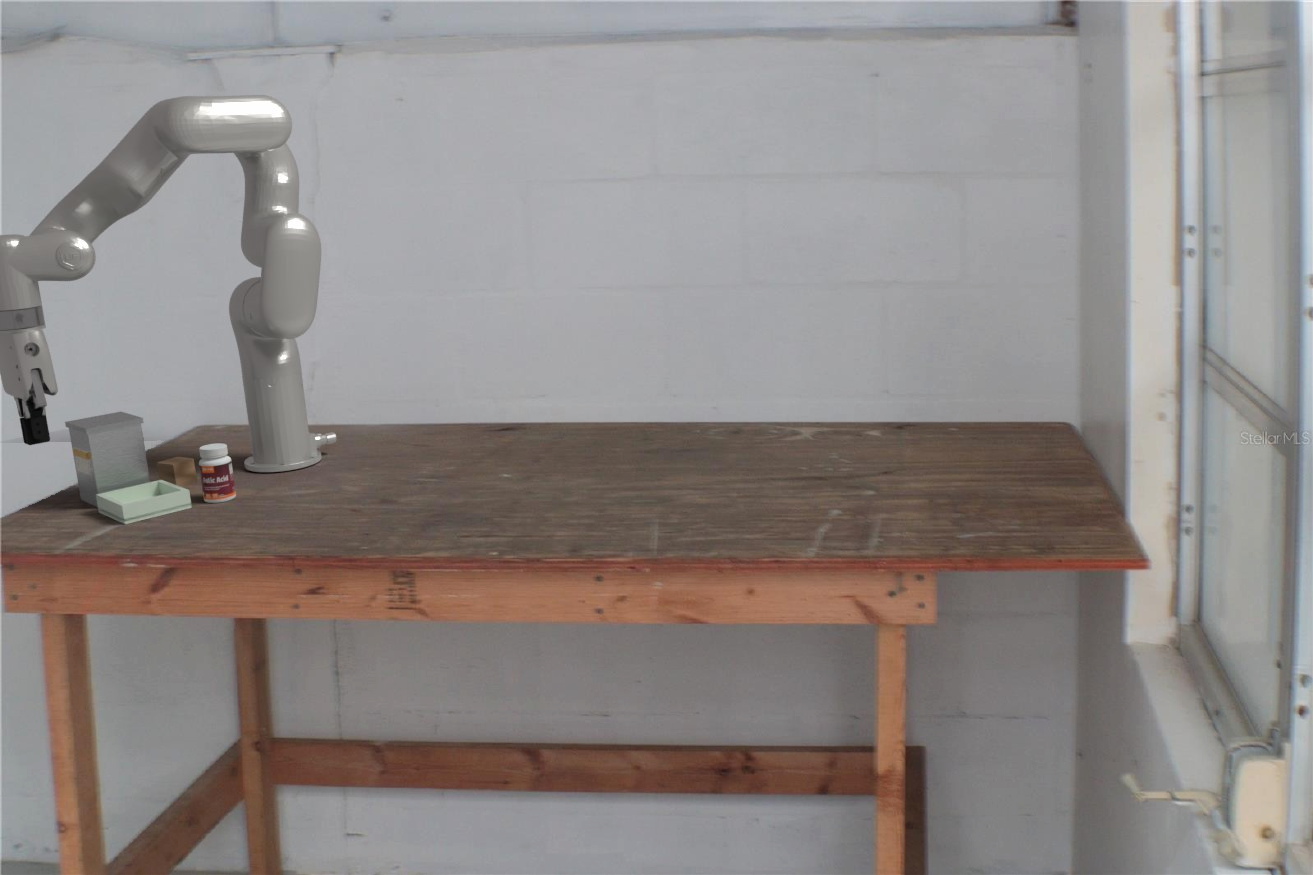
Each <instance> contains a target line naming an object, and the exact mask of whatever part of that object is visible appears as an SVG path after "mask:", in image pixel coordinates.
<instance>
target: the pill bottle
mask: <svg viewBox="0 0 1313 875" xmlns="http://www.w3.org/2000/svg"><path fill="white" fill-rule="evenodd" d="M198 449H199V457H200V458H201V459H200V460H199V462H198V467H199V468H198V469H199V474H200V480H201V481H200V482H201V487H202V496H203V501H204V502H206V503H209V504H216V503H218V504H219V503H225V502H229V501H231V500H234V499H235V498H236V497H237V494H236V493H237V492H236V486H235V485H236V484H235V477H234V470H233V463H232V462H233V461H232V458H231V457H230V456H229V455H228V454H229V453H228V451H229V450H228V445H227V444H226V443H219V442H218V443H210V444H205V445H202V446H200V447H199V448H198Z"/></svg>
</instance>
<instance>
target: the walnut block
mask: <svg viewBox="0 0 1313 875" xmlns="http://www.w3.org/2000/svg"><path fill="white" fill-rule="evenodd" d="M156 466H157V472H158V478H159V479H158V480H164V481H166V482H169V483H172V484H174V485H177V486H180V487H183V488H184V487H185V486H189V485H192V484H195V483H198V479H197V478H198V477H197V472H196V465H195V460H194V458H190V457H185V456H173V457H172V458H168V459H164V460H162V461H158V462H156Z"/></svg>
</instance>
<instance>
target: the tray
mask: <svg viewBox="0 0 1313 875" xmlns="http://www.w3.org/2000/svg"><path fill="white" fill-rule="evenodd" d="M96 499H97V505H98V507H97V508H98V509H97V510H98V513H100V514H101V515H103V516H106V517H107V518H110V519H113V521H114V520H115V521H117V522H119V523H121V524H123V525H128V524H132V523H136V522H140V521H143V520H148V519H153V518H156V517H160V516H164V515H169V514H172V513H177V512H180V511H184V510H188V509H192V507H193V506H192V500H191V499H192V498H191V494H190V489H188V488H185V487H184V486H183V487H180V486H177V485H174V484H172V483H169V482H166V481H164V480H159V479H158V480H155V481H150V482H149V483H145V484H140V485H136V486H131V487H127V488H123V489H118V490H114V491H109V492H105V493H101V494H96Z"/></svg>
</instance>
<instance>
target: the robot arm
mask: <svg viewBox="0 0 1313 875" xmlns="http://www.w3.org/2000/svg"><path fill="white" fill-rule="evenodd" d="M292 129H293V121H292V117H291V114H290V111H289V110H288V109H287V107H286V106H285V105H284V104H283V102H281V101H280V100H278V99H276V97H272V96H269V95H265V94H256V95H255V94H249V95H248V94H246V95H223V96H222V95H220V96H219V95H217V96H213V95H210V96H209V95H207V96H206V95H205V96H203V95H202V96H201V95H199V96H198V95H193V96H192V95H187V96H178V97H173V98H165V99H162V100H160V101H158V102H156V103H155V104H153V105H152V106H151V107H150V108H149V109H148V110H147V111H146V112H145V113H144V114H143V115H142V117H140V119H139V120H138V121H137V122H136V123H135V124H134V125H133V127H131V129H130V130H129V131H128V132H127V134H125V136H124V137H122V139H121V140H120V141H119V143H117V145H116V146H115V147H114V148H113V149H112V150H111V151H110V152H109V153H108V155H107V156H106V157H104V159H103V160H102V161H101V162H99V164H98V165H97V166H96V167H95V168H94V169H93V170H92V171H90V172H89V173H88V174H87V175H86V176H85V177H84V178H83V179H82V180H81V181H80V182H79V183H78V184H77V185H76V186H75V187H73V189H71V190H70V191H69V192H68V193H67V194H66V195H65V196H63V198H62V199H60V201H58V202H57V204H56V205H55V206H54V207H53V208H52V209H51V210H50V211H49V212H48V214H47V215H46V216H44V217H43V219H42V220H41V221H40V222H39V223H38V224H37V226H36V227H35V228H34V229H33V230H32V232H31V233H30V234H29V235H26V236H25V235H23V234H18V233H17V234H0V380H1V384H2V388H3V391H4V392H5V394H7V395H10V396H12V397H13V398H14V401H15V404H16V409H17V413H18V417H19V422H20V427H21V434H22V438H23V443H24V444H25V445H28V446H32V445H37V444H38V445H39V444H44V443H48V442H50V441H51V436H50V431H49V425H48V419H47V410H46V407H47V406H48V404H47V403H48V402H47V400H46V395H49V396H51V397H52V396H56V395H57V393H58V391H59V389H58V383H57V379H56V374H55V370H54V366H53V365H54V364H53V360H52V356H51V352H50V348H49V345H48V340H47V338H46V335H45V332H44V329H46V320H45V314H44V310H43V309H44V308H43V304H42V297H41V291H40V286H39V281H40V282H73V281H77V280H80V279H82V278H85V277H86V276H87V275H88V274H89V273H90V272H92V269H93V268H94V266H95V264H96V258H97V257H96V250H95V247H94V246H93V243H94V242H95V241H96V240H97V239H98V238H99V236H101V235H102V234H103V233H104V232H105V231H106V230H107V229H109V227H110V226H112V225H114V224H115V223H117V222H118V221H120V220H121V219H123V218H125V217H127V216H129V215H132V214H134V213H135V212H137V211H139V210H140V209H142V208H143V207H144V206H146V205H147V204H149V202H150V201H151V200H152V199H153V198H154V197H155V195H157V193H158V192H159V191H160V189H161V188H162V187H163V186H164V185H165V184H166V182H167V181H168V180H169V179H170V178H171V177H172V175H174V173H176V171H177V170H178V169H179V168H180V166H181V165H182V164H184V163H185V161H186V160H187V159H188V157H189V156H190V155H196V154H197V155H200V154H233V155H234V156H235V157H236V159H237V160H238V161H239V163H240V166H241V168H242V172H243V175H244V198H243V199H244V202H243V212H242V222H241V223H242V224H241V232H240V235H241V236H240V247H241V252H242V255H243V256H244V258H245V259H246V260H247V261H248V262H249V263H250V264H251V265H253V266H254V267H255V266H256V267H258V268H260V270H261V271H260V276H259V277H257V276H255V277H251V278H248V279H246V280H243V281H241V282H240V283H239V284H238V285H236V286H235V288H234V290H233V291H232V293H231V295H230V298H229V305H228V314H229V319H230V323H231V326H232V331H233V334H234V337H235V340H236V341H235V342H236V344H237V346H236V347H237V349H238V350H237V351H238V355H239V361H240V362H239V363H240V368H241V375H242V376H241V377H242V385H243V391H244V393H243V394H244V398H245V399H244V400H245V407H246V415H247V421H248V422H247V423H248V428H249V436H250V444H251V450H252V455H251V456H249V457H247V458H245V460H244V462H243V463H244V469H245V470H247V471H249V472H250V471H251V472H254V473H279V472H288V471H293V470H294V471H295V470H298V469H303V468H307V467H310V466H313V465H315V464H318V463H319V462H320V461H321V460H322V453H321V451H320V450H318V449H320V448H321V447H322V446H324V445H331V444H334V443H336V442H337V435H336V433H335V432H334V431H331V432H326V433H323V434H321V432H319V433H314V432H310V431H309V430H310V428H309V421H308V415H307V413H308V412H307V405H306V398H305V396H306V395H305V390H304V388H305V387H304V381H303V380H304V379H303V372H302V363H301V357H300V352H299V347H298V344H297V340H296V339H297V338H299V337H301V336H302V335H304V334H305V333H306V332H307V331H308V330H309V329H310V327H311V326H312V324H313V322H314V319H315V316H316V312H317V307H318V306H317V305H318V296H319V286H320V274H321V262H322V243H321V238H320V235H319V234H320V233H319V232H318V229H317V228H316V226H315V224H314V223H313V221H311V220H310V219H309V218H308V217H307V216H305V215H304V214H301V213H300V212H299V208H300V207H299V206H300V204H299V203H300V202H299V201H300V173H299V168H298V165H297V162H296V159H295V157H294V155H293V151H291V149H290V147H289V145H288V144H287V141H288V140H289V138H290V137H291V134H292Z"/></svg>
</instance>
